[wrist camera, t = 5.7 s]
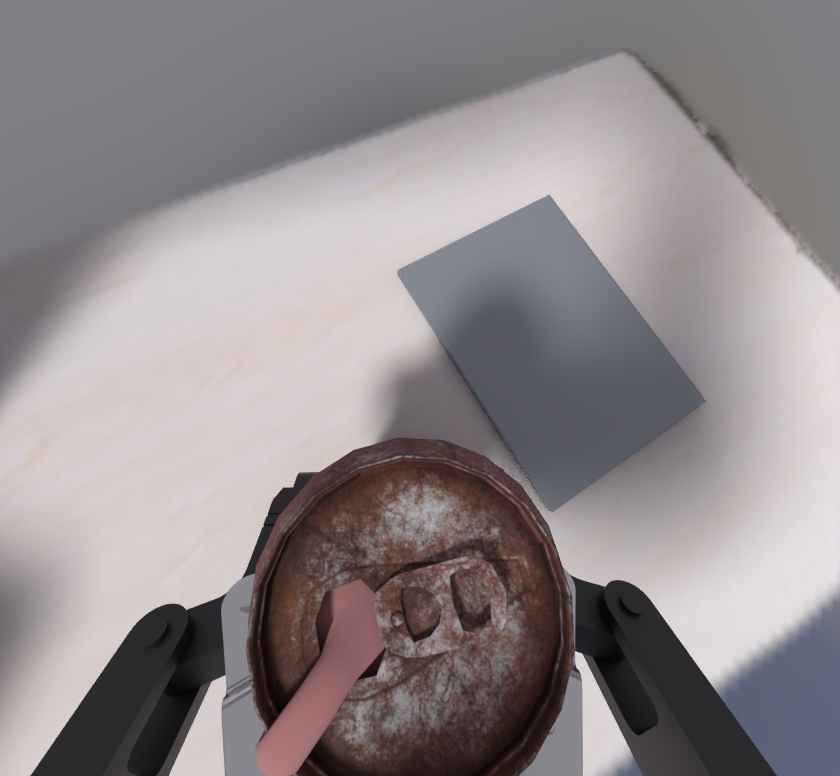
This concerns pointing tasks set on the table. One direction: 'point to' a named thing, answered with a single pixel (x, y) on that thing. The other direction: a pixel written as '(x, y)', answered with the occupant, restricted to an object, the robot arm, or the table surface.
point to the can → (408, 620)
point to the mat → (550, 348)
